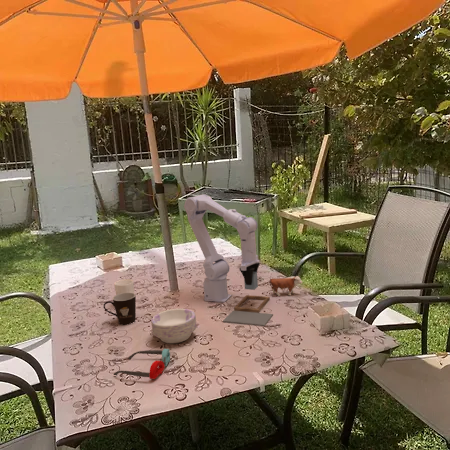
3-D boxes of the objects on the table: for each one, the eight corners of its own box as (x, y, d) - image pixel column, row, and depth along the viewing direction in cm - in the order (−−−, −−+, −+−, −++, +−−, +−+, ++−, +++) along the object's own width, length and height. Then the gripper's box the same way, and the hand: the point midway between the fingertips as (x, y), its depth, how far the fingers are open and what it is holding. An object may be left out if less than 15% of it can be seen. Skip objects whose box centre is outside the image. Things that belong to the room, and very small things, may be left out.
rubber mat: (222, 322, 172) (222, 320, 172) (233, 311, 181) (233, 310, 181) (264, 326, 166) (264, 324, 166) (273, 315, 175) (272, 314, 175)
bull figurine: (302, 296, 192) (301, 277, 190) (269, 296, 194) (268, 277, 193) (303, 292, 196) (302, 274, 194) (270, 292, 199) (269, 274, 197)
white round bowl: (148, 334, 166) (146, 313, 165) (189, 325, 172) (187, 304, 171) (160, 352, 153) (157, 329, 151) (203, 340, 158) (201, 318, 157)
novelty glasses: (157, 383, 134) (155, 368, 133) (110, 380, 138) (108, 365, 137) (174, 360, 147) (172, 345, 146) (130, 357, 151) (129, 343, 150)
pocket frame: (234, 310, 182) (233, 307, 182) (246, 297, 195) (246, 295, 194) (258, 312, 178) (258, 309, 178) (269, 299, 191) (269, 296, 191)
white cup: (139, 303, 197) (137, 281, 195) (124, 309, 192) (121, 286, 190) (128, 300, 203) (126, 278, 201) (113, 306, 197) (110, 283, 195)
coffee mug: (142, 317, 182) (139, 293, 180) (131, 326, 174) (128, 301, 172) (116, 315, 186) (113, 291, 184) (104, 324, 178) (101, 299, 176)
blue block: (244, 289, 184) (243, 274, 183) (248, 285, 188) (247, 271, 186) (254, 289, 182) (253, 275, 181) (257, 286, 186) (257, 271, 185)
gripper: (252, 254, 174) (254, 289, 177) (264, 244, 187) (266, 277, 190) (234, 254, 177) (236, 288, 179) (247, 244, 190) (249, 276, 192)
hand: (250, 282), depth 185 cm, fingers closed on blue block, 4 cm apart
